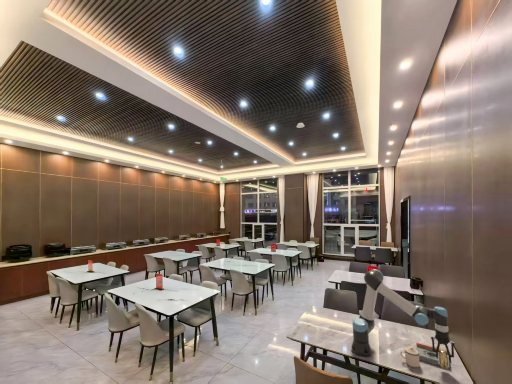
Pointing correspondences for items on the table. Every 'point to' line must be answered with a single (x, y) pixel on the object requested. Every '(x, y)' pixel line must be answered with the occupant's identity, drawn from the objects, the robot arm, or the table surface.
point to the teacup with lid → (411, 357)
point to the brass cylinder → (443, 358)
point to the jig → (427, 353)
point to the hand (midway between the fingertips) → (443, 364)
